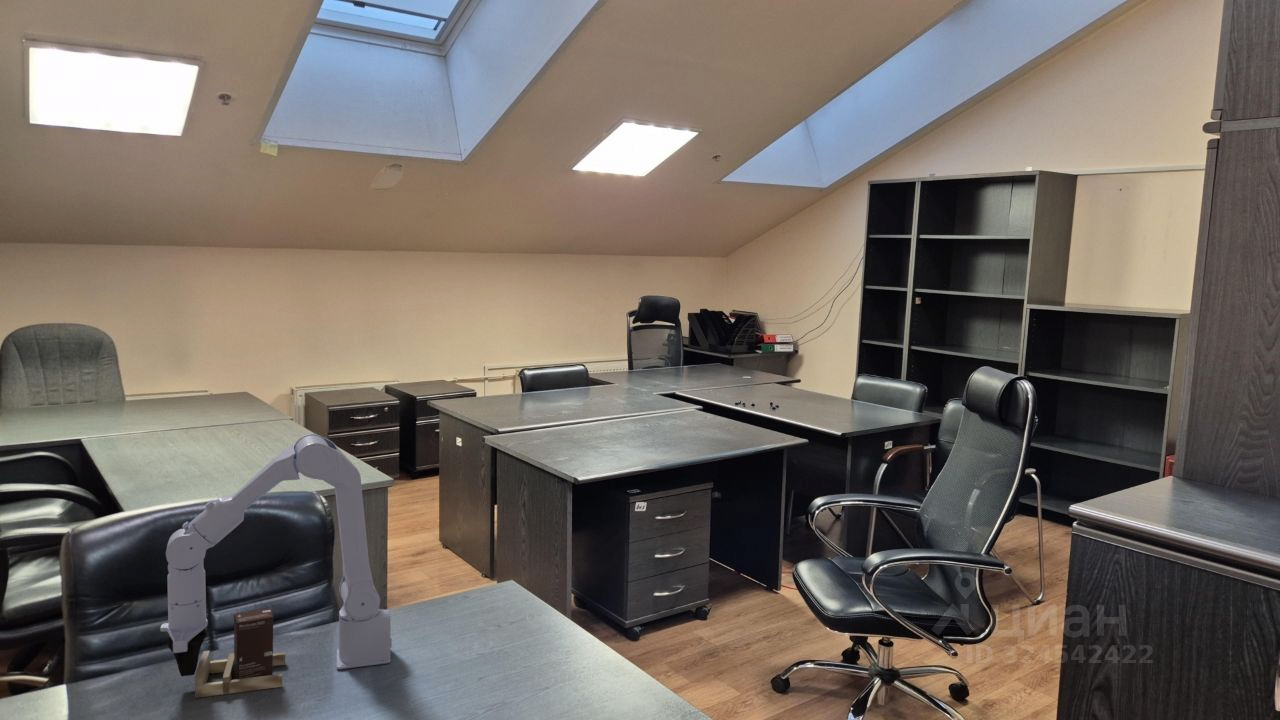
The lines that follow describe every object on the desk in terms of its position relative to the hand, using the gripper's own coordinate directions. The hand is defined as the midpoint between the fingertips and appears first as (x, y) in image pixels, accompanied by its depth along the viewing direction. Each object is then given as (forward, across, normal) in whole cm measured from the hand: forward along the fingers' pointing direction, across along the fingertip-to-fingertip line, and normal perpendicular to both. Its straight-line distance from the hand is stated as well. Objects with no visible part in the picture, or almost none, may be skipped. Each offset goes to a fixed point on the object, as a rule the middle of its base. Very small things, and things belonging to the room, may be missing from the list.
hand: (188, 673), depth 140 cm
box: (+3, 0, +10) cm, 11 cm away
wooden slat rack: (+2, 0, +8) cm, 9 cm away
